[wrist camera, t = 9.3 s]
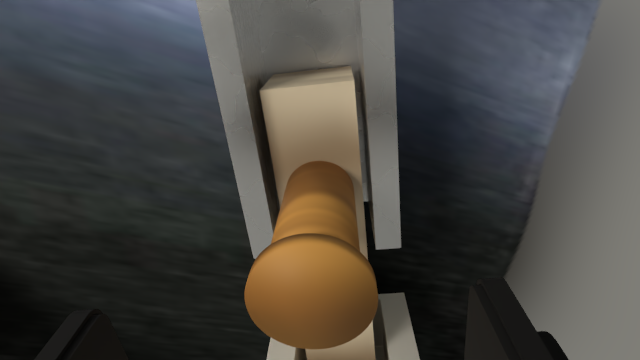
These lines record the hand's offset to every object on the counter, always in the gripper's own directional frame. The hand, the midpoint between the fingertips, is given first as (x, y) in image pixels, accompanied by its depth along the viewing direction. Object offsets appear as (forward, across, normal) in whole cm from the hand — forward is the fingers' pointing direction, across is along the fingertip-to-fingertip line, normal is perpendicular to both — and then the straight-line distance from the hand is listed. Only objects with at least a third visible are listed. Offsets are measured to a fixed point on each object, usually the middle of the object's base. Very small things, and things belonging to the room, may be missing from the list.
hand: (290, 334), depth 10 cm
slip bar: (+13, -1, +6) cm, 14 cm away
